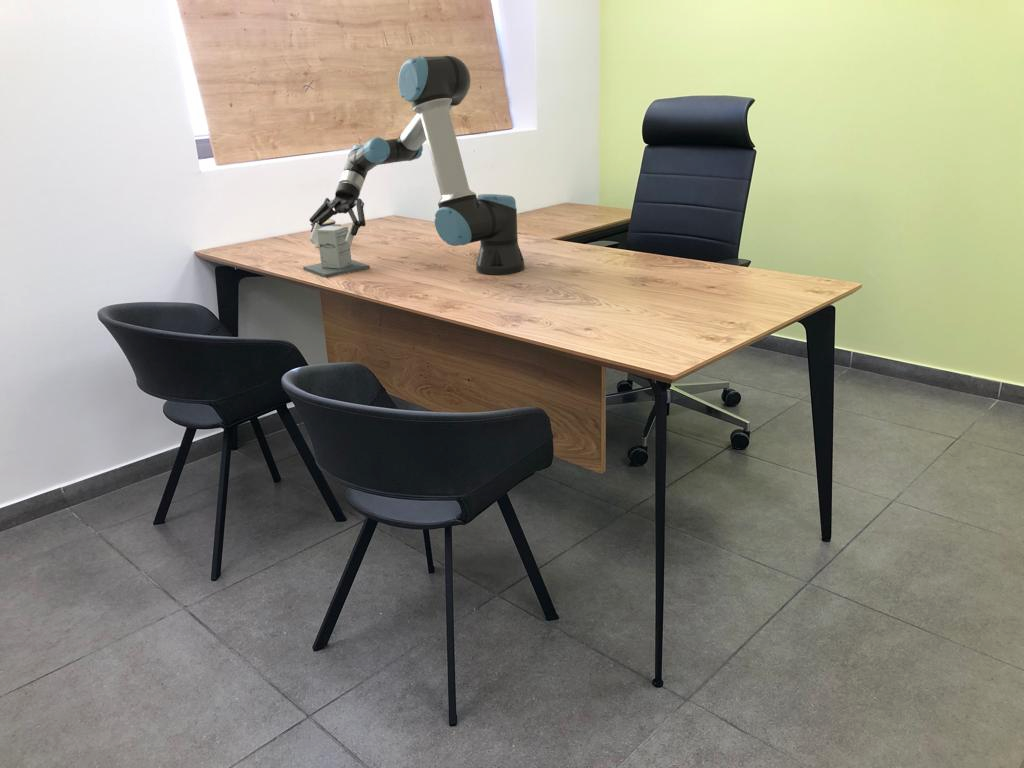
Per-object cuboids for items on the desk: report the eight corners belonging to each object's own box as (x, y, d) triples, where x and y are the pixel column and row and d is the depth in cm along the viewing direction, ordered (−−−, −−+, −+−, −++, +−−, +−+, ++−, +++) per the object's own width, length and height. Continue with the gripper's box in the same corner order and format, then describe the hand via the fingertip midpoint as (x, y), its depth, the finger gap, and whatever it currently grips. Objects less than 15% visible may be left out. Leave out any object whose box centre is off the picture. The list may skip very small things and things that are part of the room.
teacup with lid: (318, 249, 296) (313, 217, 292) (310, 245, 304) (306, 214, 300) (349, 244, 302) (345, 213, 298) (340, 240, 309) (337, 210, 305)
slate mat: (369, 268, 264) (369, 265, 264) (324, 277, 255) (324, 274, 255) (347, 260, 276) (346, 258, 276) (303, 269, 267) (303, 266, 267)
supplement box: (321, 268, 264) (315, 229, 259) (334, 262, 270) (329, 225, 265) (339, 269, 261) (334, 230, 256) (352, 263, 267) (348, 225, 262)
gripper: (387, 195, 267) (368, 250, 260) (323, 194, 276) (303, 247, 269) (376, 181, 260) (357, 237, 253) (312, 181, 270) (291, 235, 262)
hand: (329, 242), depth 261 cm, fingers open, 13 cm apart
